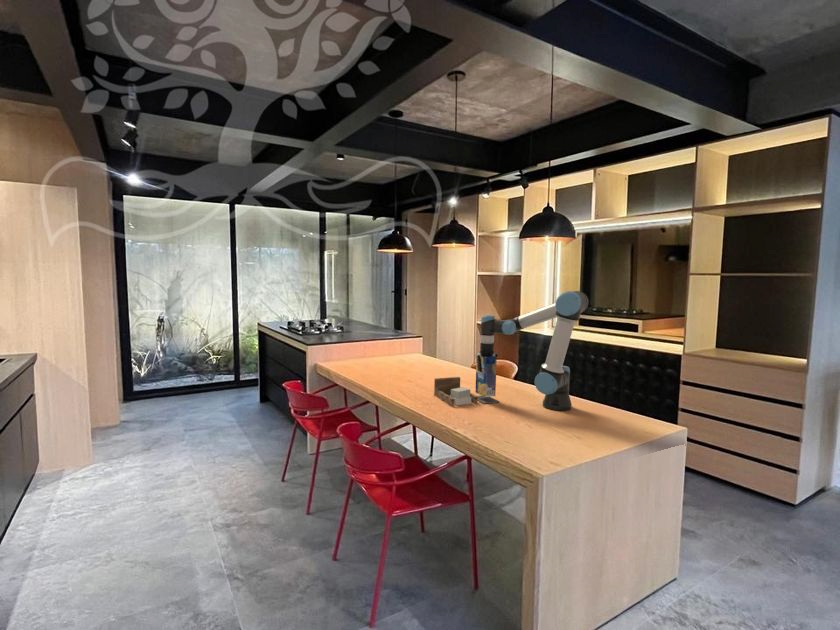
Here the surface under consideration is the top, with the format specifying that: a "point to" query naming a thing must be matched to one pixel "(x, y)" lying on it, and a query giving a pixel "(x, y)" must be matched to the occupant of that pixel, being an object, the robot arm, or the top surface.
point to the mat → (486, 400)
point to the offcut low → (462, 401)
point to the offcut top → (460, 392)
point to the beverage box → (486, 376)
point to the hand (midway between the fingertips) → (485, 383)
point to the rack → (449, 389)
